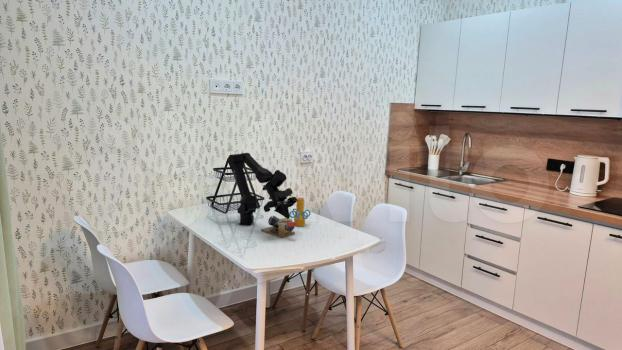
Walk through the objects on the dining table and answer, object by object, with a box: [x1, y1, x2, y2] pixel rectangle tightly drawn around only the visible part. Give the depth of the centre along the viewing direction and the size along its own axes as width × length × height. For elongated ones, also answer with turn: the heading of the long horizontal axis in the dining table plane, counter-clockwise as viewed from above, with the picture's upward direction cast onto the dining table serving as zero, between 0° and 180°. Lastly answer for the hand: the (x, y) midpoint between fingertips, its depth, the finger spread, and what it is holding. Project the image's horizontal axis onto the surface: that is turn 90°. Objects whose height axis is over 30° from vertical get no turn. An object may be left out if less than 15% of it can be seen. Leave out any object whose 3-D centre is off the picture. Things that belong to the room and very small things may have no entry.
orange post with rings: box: [289, 197, 311, 228], centre depth 235 cm, size 12×10×15 cm
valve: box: [260, 215, 296, 239], centre depth 221 cm, size 16×9×7 cm, turn 48°
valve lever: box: [277, 221, 297, 228], centre depth 214 cm, size 2×2×12 cm
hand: (288, 218), depth 212 cm, fingers closed
